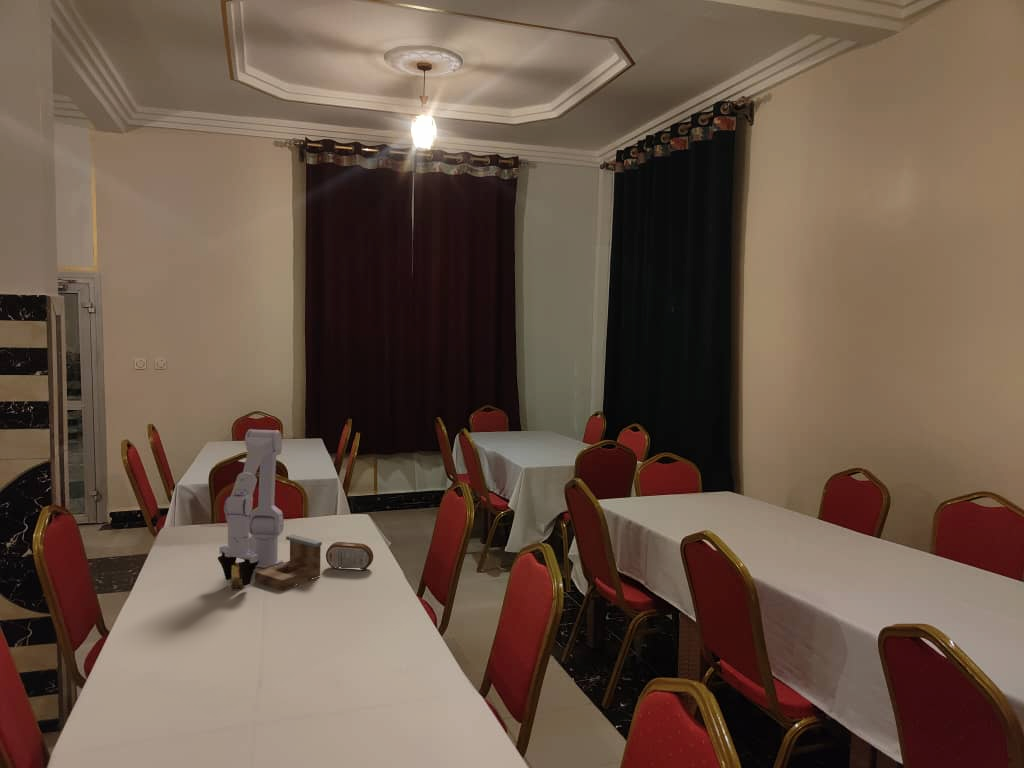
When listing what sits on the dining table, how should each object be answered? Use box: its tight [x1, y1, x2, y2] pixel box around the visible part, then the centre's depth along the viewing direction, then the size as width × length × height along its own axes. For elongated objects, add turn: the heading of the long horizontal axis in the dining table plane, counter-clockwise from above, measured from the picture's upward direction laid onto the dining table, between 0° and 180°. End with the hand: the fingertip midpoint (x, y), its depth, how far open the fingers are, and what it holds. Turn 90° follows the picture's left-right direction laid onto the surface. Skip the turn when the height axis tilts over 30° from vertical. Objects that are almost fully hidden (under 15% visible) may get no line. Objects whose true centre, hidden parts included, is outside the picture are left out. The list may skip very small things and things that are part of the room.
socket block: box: [254, 534, 323, 591], centre depth 214 cm, size 13×15×11 cm
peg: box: [230, 561, 246, 591], centre depth 206 cm, size 4×4×7 cm
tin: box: [325, 541, 374, 570], centre depth 225 cm, size 15×3×8 cm, turn 84°
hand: (238, 581), depth 206 cm, fingers open, 7 cm apart
